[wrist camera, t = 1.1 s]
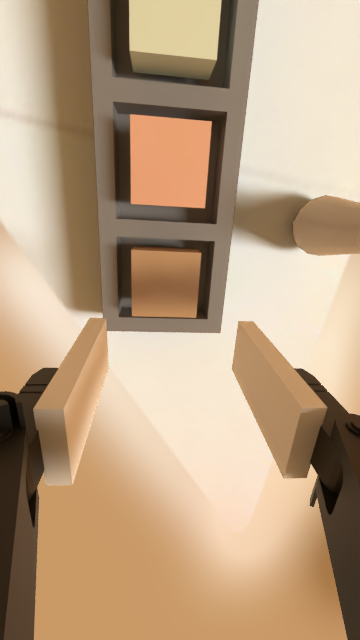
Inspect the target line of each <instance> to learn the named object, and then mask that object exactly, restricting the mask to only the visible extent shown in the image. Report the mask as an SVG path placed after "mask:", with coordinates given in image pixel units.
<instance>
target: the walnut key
mask: <svg viewBox="0 0 360 640" xmlns="http://www.w3.org/2000/svg"><path fill="white" fill-rule="evenodd" d="M200 264H201V252H200V251H199V250H198V249H197V248H178V247H157V246H135V245H134V246H133V248H132V250H131V275H132V316H144V317H186V318H196V314H197V302H198V289H199V276H200Z"/></svg>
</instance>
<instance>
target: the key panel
mask: <svg viewBox="0 0 360 640" xmlns="http://www.w3.org/2000/svg"><path fill="white" fill-rule="evenodd" d="M258 2H259V0H222V1H221V13H220V26H219V38H218V51H217V61H216V63H215V66H214V68H213V71H212V73H211V76H210V78H209V80H205V79H195V78H185V77H175V76H165V75H155V74H145V73H135V72H133V68H132V62H131V56H130V42H129V0H88V16H89V36H90V57H91V78H92V99H93V119H94V140H95V161H96V182H97V202H98V223H99V244H100V265H101V285H102V306H103V318H106V325H107V331H141V332H194V333H220V332H221V323H222V314H223V306H224V297H225V288H226V280H227V271H228V262H229V254H230V245H231V236H232V228H233V219H234V210H235V202H236V193H237V184H238V176H239V167H240V158H241V150H242V141H243V132H244V124H245V115H246V106H247V98H248V89H249V80H250V72H251V63H252V54H253V46H254V37H255V28H256V20H257V11H258ZM130 114H133V115H144V116H156V117H167V118H179V119H190V120H201V121H212V126H211V139H210V151H209V164H208V176H207V189H206V201H205V208H200V209H199V208H182V207H165V206H148V205H133V204H131V158H130ZM134 245H135V246H157V247H178V248H197V249H198V250H199V251H200V252H201V264H200V276H199V289H198V302H197V314H196V318H186V317H144V316H132V275H131V250H132V248H133V246H134Z"/></svg>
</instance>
